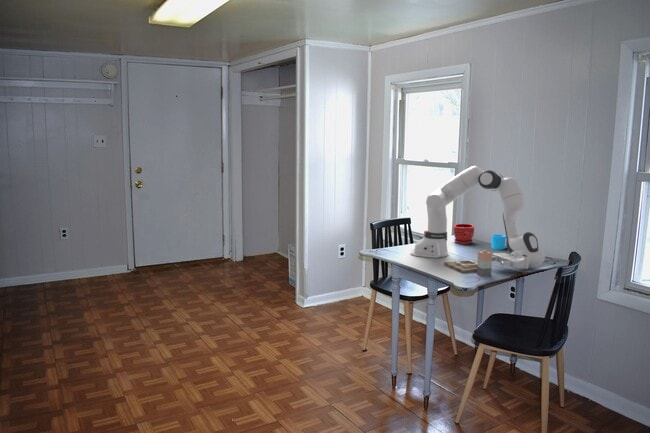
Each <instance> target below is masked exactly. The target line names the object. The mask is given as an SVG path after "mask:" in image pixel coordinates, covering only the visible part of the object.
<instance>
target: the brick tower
mask: <svg viewBox="0 0 650 433" xmlns="http://www.w3.org/2000/svg"><path fill="white" fill-rule="evenodd" d="M492 254H493V253H492V252H490V251H488V250H485V249H483V250H480V251H477V262H478V264H477V272H476V274H477V275H478V276H481V277H488V276H490V277H491V275H492V262H493V261H492Z"/></svg>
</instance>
